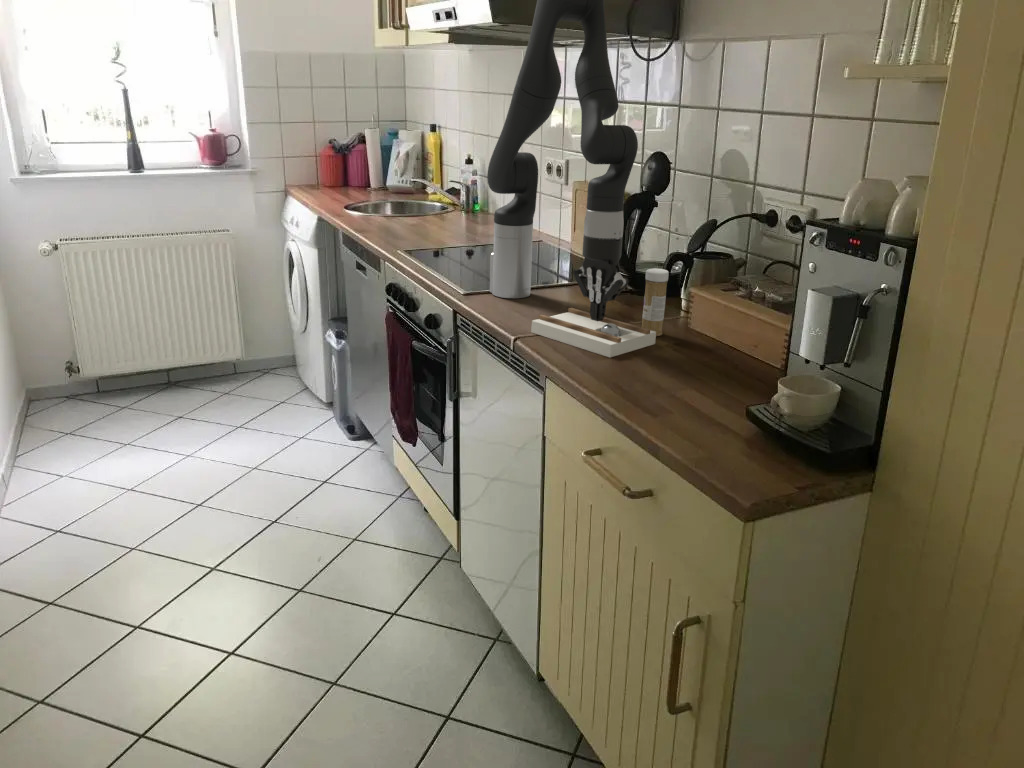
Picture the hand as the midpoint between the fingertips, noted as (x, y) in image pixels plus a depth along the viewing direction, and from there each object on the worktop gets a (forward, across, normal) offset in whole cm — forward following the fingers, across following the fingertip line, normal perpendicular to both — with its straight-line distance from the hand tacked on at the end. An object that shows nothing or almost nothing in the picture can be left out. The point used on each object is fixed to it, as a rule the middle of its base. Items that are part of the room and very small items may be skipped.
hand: (597, 319), depth 162 cm
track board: (+4, -1, 0) cm, 4 cm away
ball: (+2, +4, 0) cm, 4 cm away
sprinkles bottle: (+4, +5, +12) cm, 14 cm away
